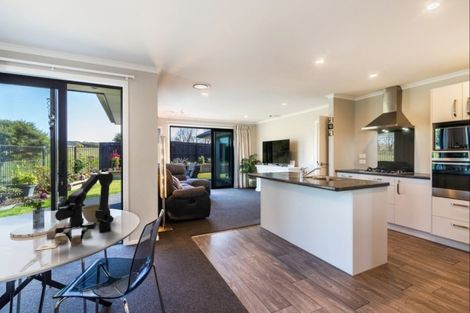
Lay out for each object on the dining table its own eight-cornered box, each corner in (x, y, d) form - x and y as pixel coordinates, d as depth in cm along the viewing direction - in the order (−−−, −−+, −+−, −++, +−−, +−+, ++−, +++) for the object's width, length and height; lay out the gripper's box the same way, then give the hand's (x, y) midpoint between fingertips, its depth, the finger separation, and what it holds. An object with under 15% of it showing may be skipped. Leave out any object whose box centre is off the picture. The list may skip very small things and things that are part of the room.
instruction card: (59, 243, 132) (59, 242, 132) (55, 247, 126) (55, 247, 126) (39, 245, 128) (39, 245, 128) (35, 250, 122) (35, 250, 122)
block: (90, 234, 146) (89, 227, 146) (91, 236, 143) (90, 229, 143) (81, 236, 144) (81, 229, 144) (82, 238, 140) (82, 230, 140)
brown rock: (62, 237, 142) (62, 229, 142) (45, 239, 139) (45, 231, 139) (70, 228, 157) (70, 222, 157) (56, 230, 154) (56, 223, 154)
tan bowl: (115, 219, 178) (115, 204, 177) (99, 227, 160) (99, 210, 159) (93, 218, 180) (93, 203, 179) (75, 226, 162) (75, 209, 161)
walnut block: (81, 242, 134) (81, 234, 134) (80, 244, 130) (80, 237, 130) (72, 243, 132) (72, 235, 132) (71, 246, 128) (70, 238, 128)
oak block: (67, 239, 138) (67, 232, 138) (65, 242, 134) (65, 235, 133) (57, 240, 136) (57, 233, 136) (55, 243, 131) (54, 236, 131)
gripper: (96, 210, 142) (97, 234, 142) (60, 213, 134) (60, 239, 135) (94, 215, 132) (94, 241, 132) (54, 218, 124) (55, 246, 124)
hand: (76, 242), depth 131 cm, fingers closed on walnut block, 4 cm apart
